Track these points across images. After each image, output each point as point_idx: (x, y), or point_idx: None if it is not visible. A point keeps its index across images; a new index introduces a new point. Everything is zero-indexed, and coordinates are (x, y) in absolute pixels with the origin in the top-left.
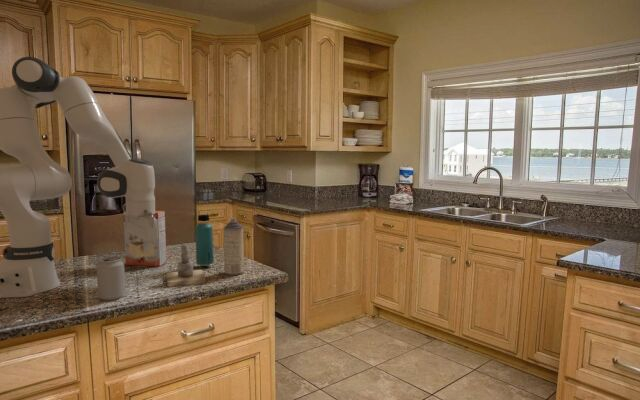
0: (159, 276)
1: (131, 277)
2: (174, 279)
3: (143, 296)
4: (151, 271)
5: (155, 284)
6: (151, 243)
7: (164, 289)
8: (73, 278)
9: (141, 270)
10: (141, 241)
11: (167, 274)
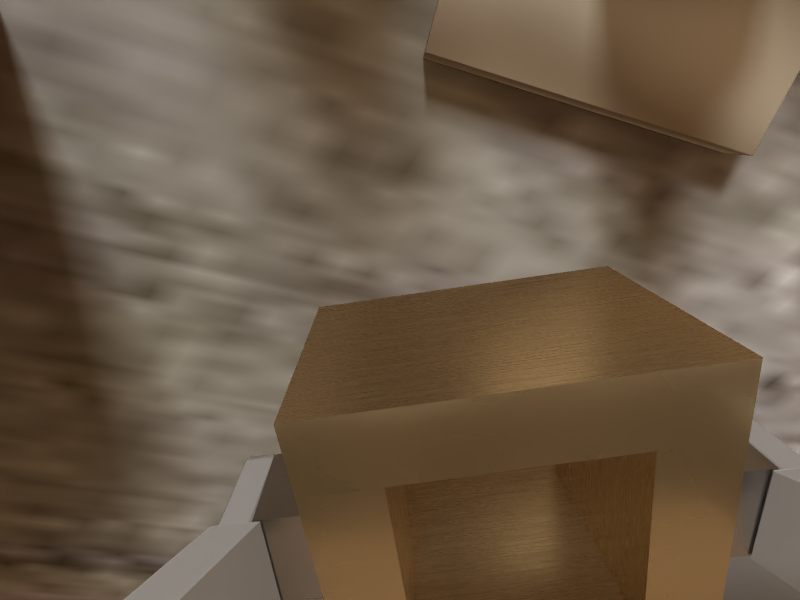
0: (370, 117)
1: (278, 319)
2: (722, 65)
3: (783, 357)
4: (158, 131)
5: (584, 218)
6: (728, 413)
7: (762, 196)
8: (132, 579)
9: (85, 201)
10: (390, 545)
11: (503, 68)
